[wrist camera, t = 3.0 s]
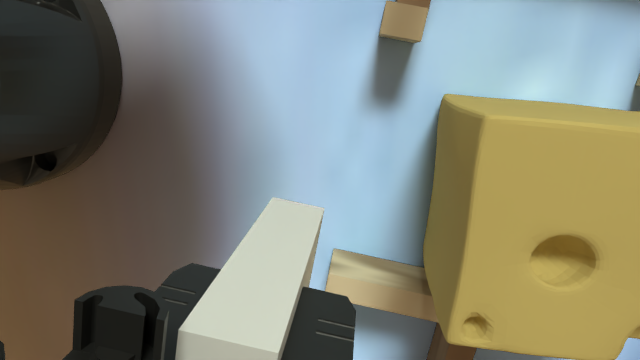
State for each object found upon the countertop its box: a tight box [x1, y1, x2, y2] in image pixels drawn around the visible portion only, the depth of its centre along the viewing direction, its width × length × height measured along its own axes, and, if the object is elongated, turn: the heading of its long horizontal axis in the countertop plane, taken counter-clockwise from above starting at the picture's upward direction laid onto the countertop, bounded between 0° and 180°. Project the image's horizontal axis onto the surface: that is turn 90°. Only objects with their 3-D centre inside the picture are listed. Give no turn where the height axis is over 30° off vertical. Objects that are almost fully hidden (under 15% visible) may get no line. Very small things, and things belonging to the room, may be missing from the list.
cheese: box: [423, 94, 640, 360], centre depth 22 cm, size 10×11×10 cm
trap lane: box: [325, 0, 640, 360], centre depth 24 cm, size 28×31×4 cm
